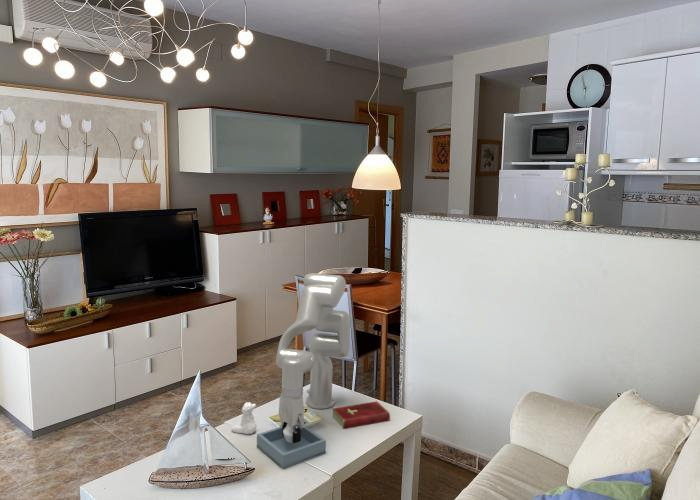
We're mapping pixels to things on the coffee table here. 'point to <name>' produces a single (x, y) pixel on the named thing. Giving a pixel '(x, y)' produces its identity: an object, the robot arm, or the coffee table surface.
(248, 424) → the white creature statuette
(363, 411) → the hardcover book
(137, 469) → the coffee table surface
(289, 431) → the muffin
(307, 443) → the bin
